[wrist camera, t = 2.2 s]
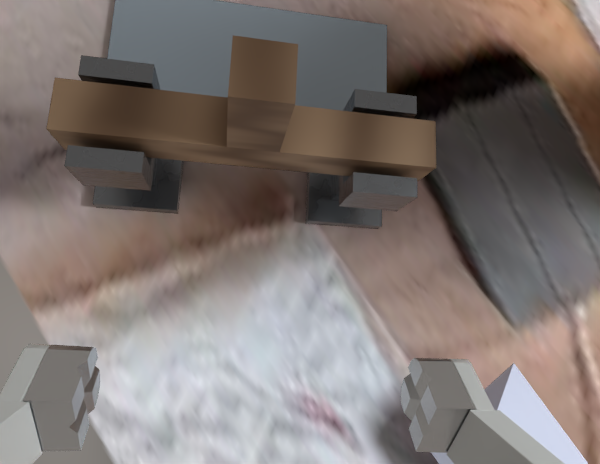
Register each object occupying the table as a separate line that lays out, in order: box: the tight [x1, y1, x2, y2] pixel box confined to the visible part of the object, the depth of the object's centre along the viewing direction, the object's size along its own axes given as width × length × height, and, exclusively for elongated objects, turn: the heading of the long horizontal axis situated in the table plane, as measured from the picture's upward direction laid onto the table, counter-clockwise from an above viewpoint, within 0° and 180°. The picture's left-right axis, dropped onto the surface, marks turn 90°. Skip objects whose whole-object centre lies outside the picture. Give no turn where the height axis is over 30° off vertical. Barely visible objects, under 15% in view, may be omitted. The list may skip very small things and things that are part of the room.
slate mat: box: [107, 0, 387, 111], centre depth 40 cm, size 23×9×1 cm, turn 87°
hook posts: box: [65, 55, 417, 229], centre depth 33 cm, size 22×7×10 cm, turn 87°
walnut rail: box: [47, 35, 436, 182], centre depth 26 cm, size 22×3×9 cm, turn 87°
